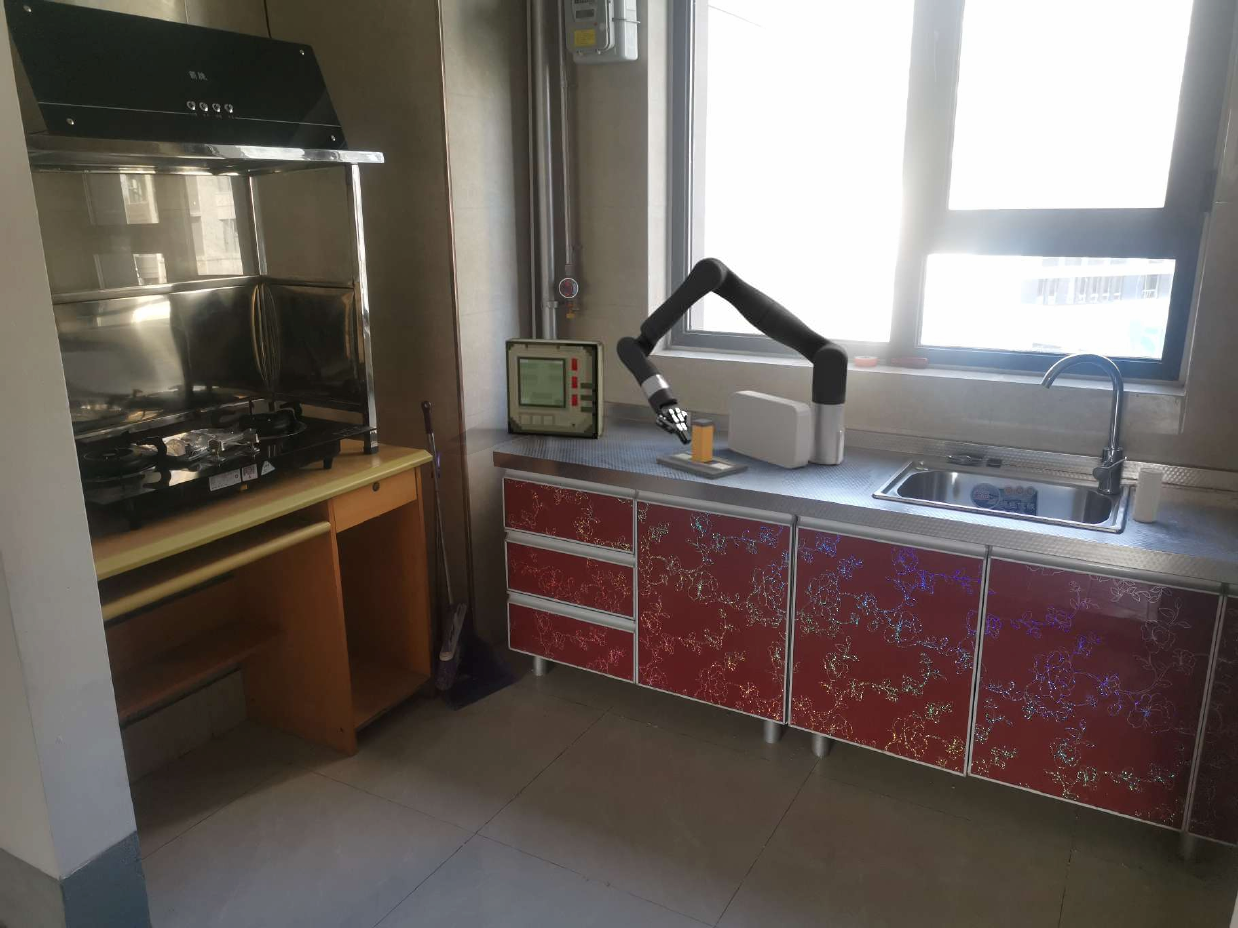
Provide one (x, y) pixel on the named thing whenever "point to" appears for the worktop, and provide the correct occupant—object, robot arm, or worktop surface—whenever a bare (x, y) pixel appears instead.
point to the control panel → (555, 387)
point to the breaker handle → (702, 440)
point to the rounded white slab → (770, 428)
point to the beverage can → (1147, 494)
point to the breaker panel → (702, 465)
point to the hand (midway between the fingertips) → (688, 443)
